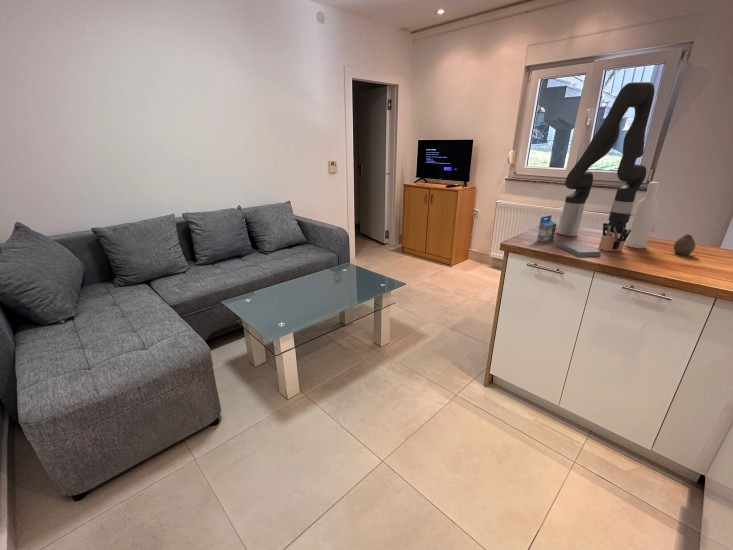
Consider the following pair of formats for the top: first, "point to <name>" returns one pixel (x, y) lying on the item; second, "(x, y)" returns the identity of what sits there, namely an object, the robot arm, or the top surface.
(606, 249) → the tan rectangular block
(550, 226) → the label tape box
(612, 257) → the top surface
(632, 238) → the bottle
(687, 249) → the grey pear shaped lump
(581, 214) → the robot arm
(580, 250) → the board
